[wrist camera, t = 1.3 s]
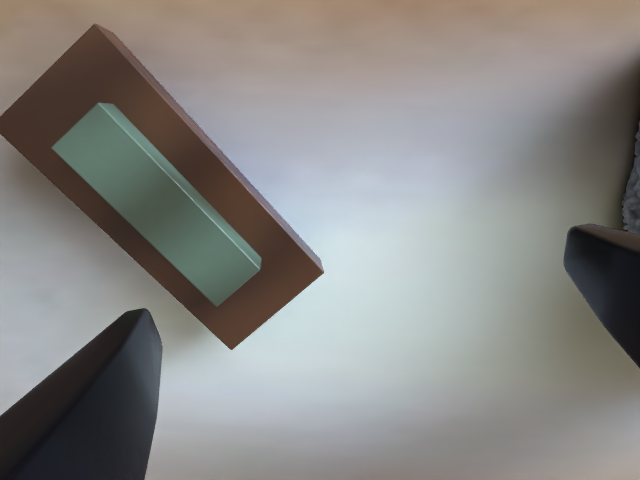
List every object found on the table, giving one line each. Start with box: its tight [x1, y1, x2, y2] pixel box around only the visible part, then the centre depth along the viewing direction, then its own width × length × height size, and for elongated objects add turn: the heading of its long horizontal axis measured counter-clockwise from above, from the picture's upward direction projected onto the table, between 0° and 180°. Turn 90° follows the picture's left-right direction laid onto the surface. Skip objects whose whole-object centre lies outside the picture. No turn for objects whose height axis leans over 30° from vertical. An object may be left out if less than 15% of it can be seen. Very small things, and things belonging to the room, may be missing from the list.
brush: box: [0, 24, 324, 350], centre depth 20 cm, size 14×6×5 cm, turn 40°
